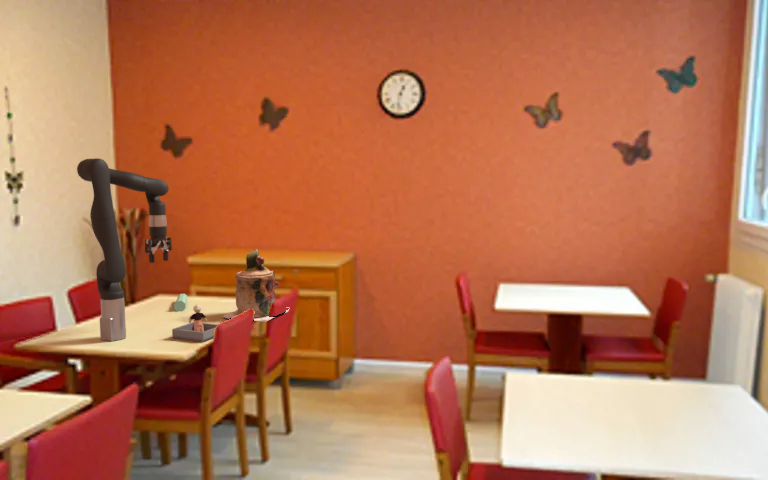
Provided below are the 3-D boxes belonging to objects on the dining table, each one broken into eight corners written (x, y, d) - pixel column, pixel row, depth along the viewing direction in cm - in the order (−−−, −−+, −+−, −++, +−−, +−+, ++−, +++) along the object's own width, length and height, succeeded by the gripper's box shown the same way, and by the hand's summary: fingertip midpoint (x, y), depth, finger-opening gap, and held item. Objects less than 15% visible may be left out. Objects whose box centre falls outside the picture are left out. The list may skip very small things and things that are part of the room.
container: (179, 290, 358) (175, 298, 334) (190, 294, 360) (187, 302, 335) (175, 300, 358) (171, 310, 334) (186, 304, 360) (183, 313, 335)
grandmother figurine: (204, 331, 290) (203, 302, 288) (208, 333, 287) (207, 304, 285) (187, 334, 285) (186, 305, 283) (191, 336, 282) (190, 306, 280)
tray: (203, 342, 276) (203, 332, 276) (172, 338, 283) (172, 329, 282) (224, 334, 289) (224, 325, 289) (194, 330, 295) (193, 321, 295)
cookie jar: (220, 319, 317) (218, 252, 314) (246, 308, 341) (244, 245, 337) (268, 322, 310) (266, 253, 306) (291, 311, 333) (289, 247, 330)
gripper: (153, 226, 291) (154, 263, 292) (175, 224, 304) (176, 260, 305) (139, 226, 294) (140, 263, 295) (162, 224, 307) (163, 259, 308)
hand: (159, 261), depth 300 cm, fingers open, 8 cm apart
